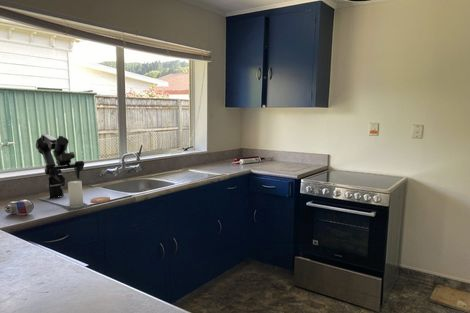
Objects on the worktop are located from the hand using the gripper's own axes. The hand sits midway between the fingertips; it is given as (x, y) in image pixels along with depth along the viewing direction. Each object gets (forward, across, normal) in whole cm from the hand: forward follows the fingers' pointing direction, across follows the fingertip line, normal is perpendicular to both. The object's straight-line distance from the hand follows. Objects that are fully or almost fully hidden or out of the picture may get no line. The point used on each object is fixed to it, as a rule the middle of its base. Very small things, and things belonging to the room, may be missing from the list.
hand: (69, 179), depth 177 cm
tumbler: (+15, 0, +4) cm, 15 cm away
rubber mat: (+15, 0, +4) cm, 16 cm away
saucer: (+12, +14, +7) cm, 20 cm away
